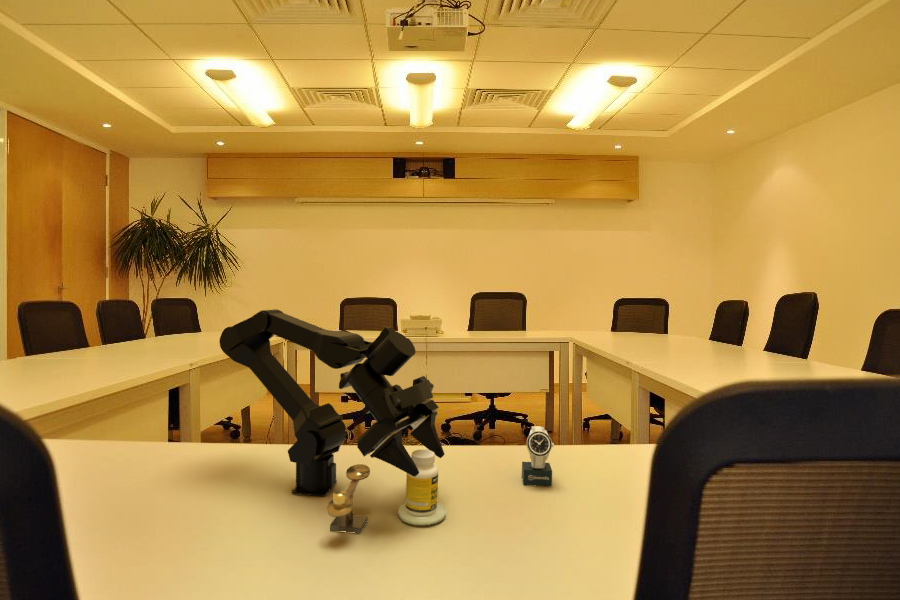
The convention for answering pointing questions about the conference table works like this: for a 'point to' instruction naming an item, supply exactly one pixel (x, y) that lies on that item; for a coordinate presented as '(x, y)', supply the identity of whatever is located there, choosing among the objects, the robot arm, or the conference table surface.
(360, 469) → the balance
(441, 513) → the dish
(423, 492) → the supplement bottle
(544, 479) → the watch
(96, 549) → the conference table surface
